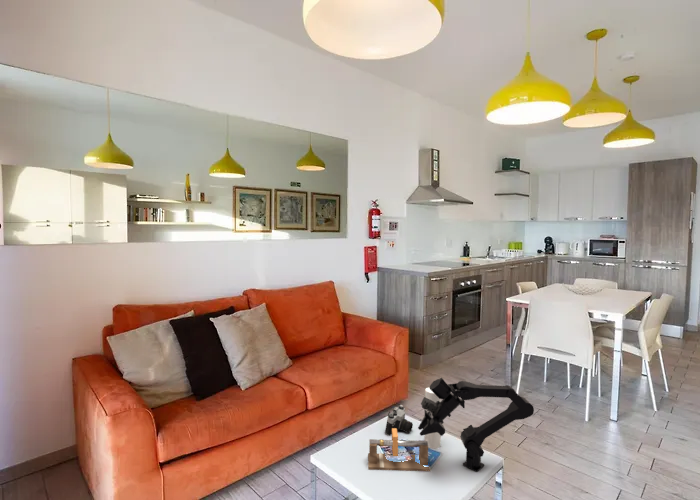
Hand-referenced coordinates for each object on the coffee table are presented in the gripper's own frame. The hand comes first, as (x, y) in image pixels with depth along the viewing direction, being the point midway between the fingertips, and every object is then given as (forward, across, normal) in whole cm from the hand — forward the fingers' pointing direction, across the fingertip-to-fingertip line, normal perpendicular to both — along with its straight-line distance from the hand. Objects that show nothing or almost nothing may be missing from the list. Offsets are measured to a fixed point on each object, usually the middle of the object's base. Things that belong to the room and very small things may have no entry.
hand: (419, 431), depth 159 cm
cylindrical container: (+4, -16, +16) cm, 22 cm away
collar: (+13, 0, -1) cm, 13 cm away
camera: (+14, -27, +6) cm, 31 cm away
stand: (+16, 0, +4) cm, 16 cm away
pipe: (+11, 0, -2) cm, 11 cm away
